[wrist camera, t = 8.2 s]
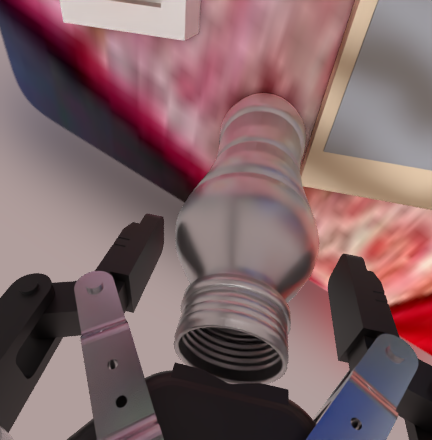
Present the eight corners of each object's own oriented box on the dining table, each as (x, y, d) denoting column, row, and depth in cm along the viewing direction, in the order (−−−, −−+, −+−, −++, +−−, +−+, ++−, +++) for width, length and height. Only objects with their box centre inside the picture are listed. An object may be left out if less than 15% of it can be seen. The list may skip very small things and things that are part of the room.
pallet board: (392, -116, 16) (402, -126, 14) (638, -90, 15) (673, -98, 13) (297, 176, 27) (298, 186, 26) (433, 201, 26) (441, 212, 25)
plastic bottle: (260, 176, 28) (230, 415, 12) (209, 122, 25) (91, 332, 10) (321, 131, 24) (387, 387, 9) (267, 65, 22) (228, 250, 6)
